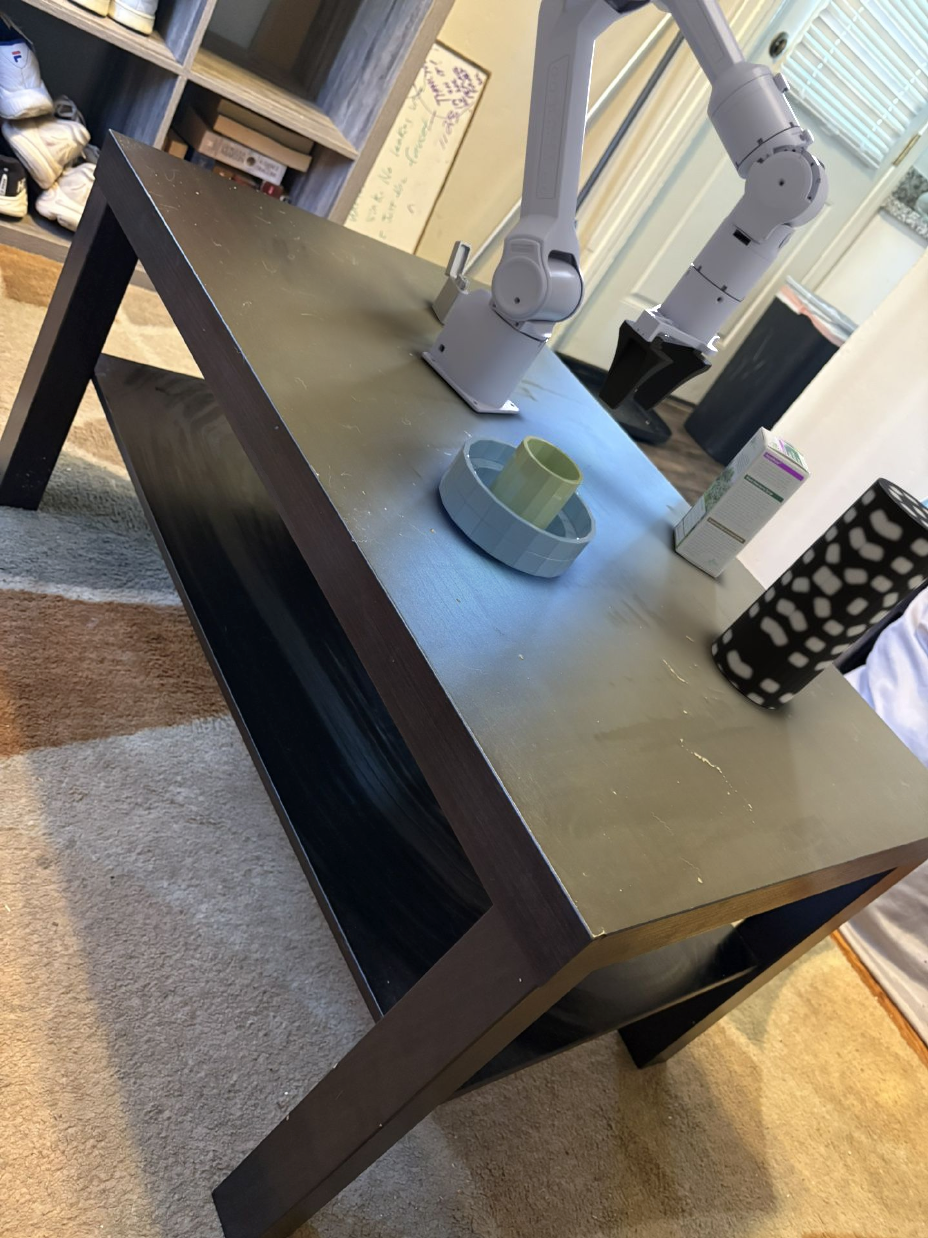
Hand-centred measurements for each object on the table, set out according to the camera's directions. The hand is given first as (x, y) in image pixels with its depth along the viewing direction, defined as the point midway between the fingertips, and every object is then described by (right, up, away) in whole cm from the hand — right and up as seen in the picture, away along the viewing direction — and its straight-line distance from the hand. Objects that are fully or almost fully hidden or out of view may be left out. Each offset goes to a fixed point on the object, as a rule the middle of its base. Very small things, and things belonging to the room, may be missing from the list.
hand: (624, 403), depth 86 cm
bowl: (-13, -13, -12) cm, 22 cm away
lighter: (-19, +16, +21) cm, 32 cm away
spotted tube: (+10, -26, -6) cm, 29 cm away
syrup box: (+9, -14, +9) cm, 19 cm away
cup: (-12, -13, -12) cm, 22 cm away
